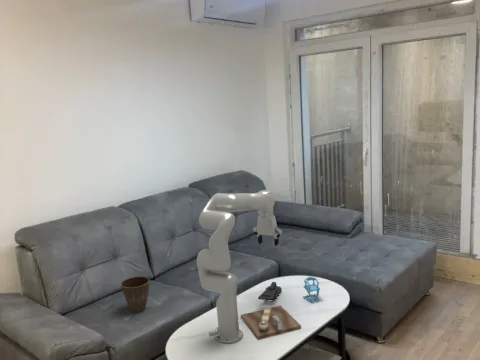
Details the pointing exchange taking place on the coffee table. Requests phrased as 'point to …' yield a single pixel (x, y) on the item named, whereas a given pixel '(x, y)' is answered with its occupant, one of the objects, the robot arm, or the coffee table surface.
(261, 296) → the zipper pull
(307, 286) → the chair
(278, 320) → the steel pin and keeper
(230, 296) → the robot arm
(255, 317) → the walnut board
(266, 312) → the link
